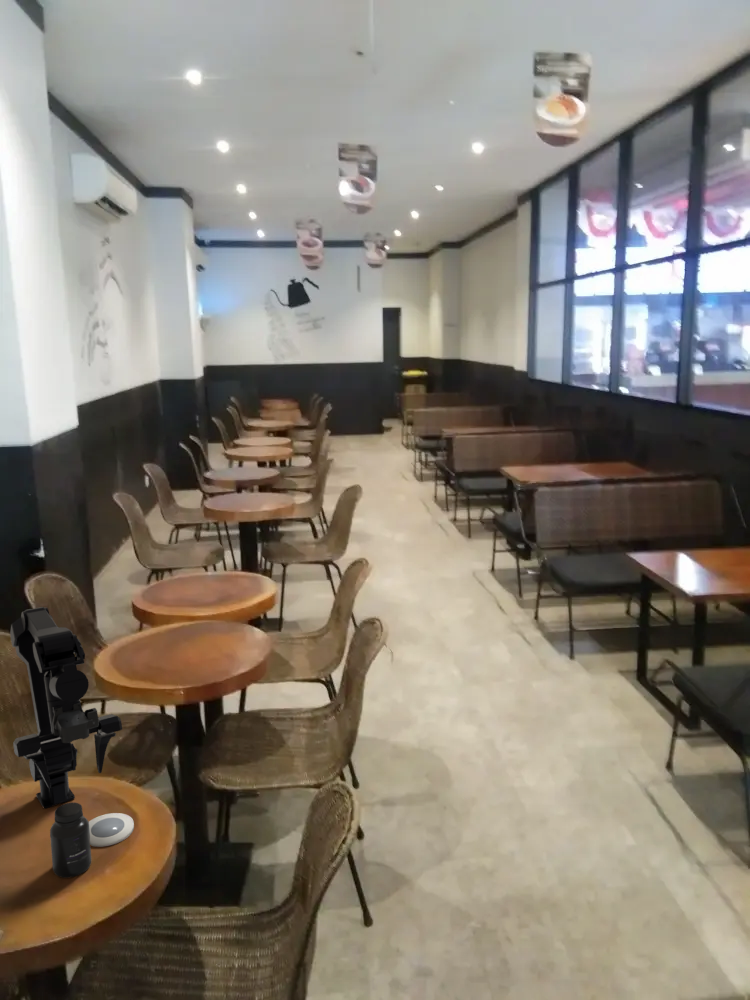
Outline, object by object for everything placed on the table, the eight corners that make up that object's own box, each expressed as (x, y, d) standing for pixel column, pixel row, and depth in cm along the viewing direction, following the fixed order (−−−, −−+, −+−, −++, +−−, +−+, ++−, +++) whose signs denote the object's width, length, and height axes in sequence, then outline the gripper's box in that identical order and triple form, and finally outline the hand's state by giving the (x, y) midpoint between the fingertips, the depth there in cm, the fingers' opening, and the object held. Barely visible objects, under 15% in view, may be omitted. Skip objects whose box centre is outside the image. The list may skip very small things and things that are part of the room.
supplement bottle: (79, 881, 143) (73, 822, 140) (45, 876, 144) (39, 818, 142) (99, 857, 149) (94, 801, 147) (67, 853, 151) (62, 797, 148)
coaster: (75, 828, 158) (74, 824, 158) (123, 810, 164) (123, 806, 164) (91, 853, 151) (90, 849, 150) (141, 833, 156) (141, 829, 156)
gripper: (16, 714, 137) (28, 803, 136) (123, 688, 147) (135, 771, 146) (8, 708, 146) (19, 792, 145) (109, 685, 156) (120, 763, 155)
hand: (75, 780), depth 148 cm, fingers open, 9 cm apart
